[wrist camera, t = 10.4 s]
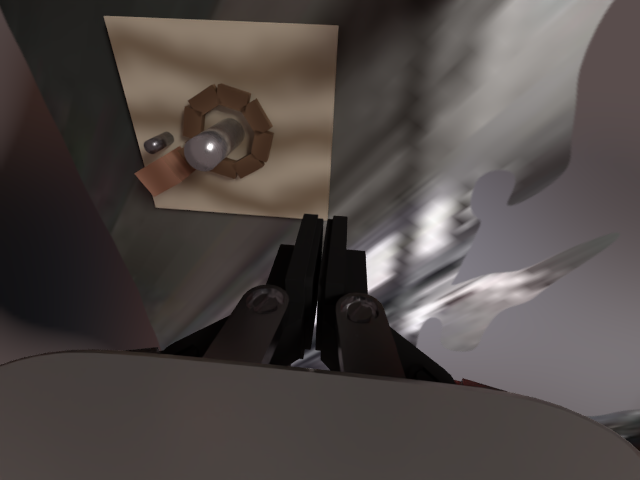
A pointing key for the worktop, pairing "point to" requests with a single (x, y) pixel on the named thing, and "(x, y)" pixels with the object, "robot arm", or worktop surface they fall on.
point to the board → (245, 74)
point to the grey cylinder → (204, 144)
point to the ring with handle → (174, 163)
